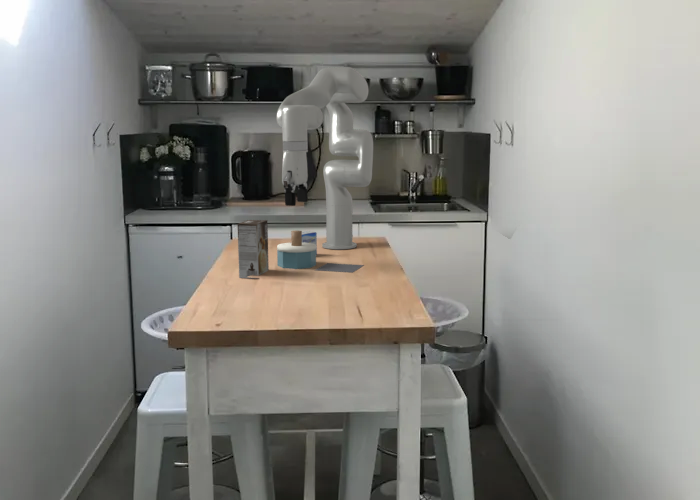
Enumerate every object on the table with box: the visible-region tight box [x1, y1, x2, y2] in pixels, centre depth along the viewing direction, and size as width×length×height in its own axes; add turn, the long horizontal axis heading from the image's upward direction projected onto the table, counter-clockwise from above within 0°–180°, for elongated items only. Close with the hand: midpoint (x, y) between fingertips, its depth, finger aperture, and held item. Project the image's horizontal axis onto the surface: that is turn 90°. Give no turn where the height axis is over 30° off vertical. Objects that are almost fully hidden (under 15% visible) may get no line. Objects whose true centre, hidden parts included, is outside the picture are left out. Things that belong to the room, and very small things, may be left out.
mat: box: [315, 262, 365, 274], centre depth 220 cm, size 12×12×1 cm
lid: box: [276, 230, 316, 252], centre depth 223 cm, size 12×12×6 cm
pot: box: [276, 249, 317, 270], centre depth 224 cm, size 11×11×6 cm
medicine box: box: [302, 230, 318, 256], centre depth 241 cm, size 8×4×9 cm, turn 143°
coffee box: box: [236, 219, 270, 280], centre depth 212 cm, size 9×6×16 cm
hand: (296, 203), depth 221 cm, fingers open, 9 cm apart
